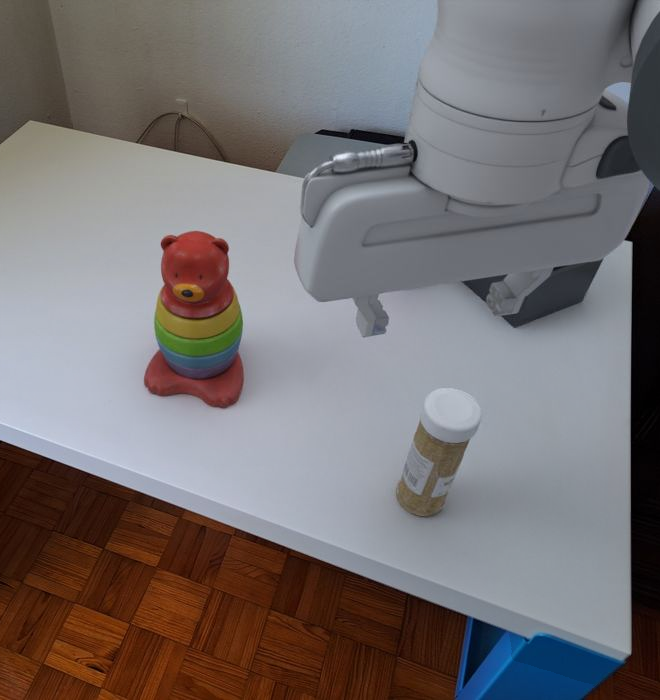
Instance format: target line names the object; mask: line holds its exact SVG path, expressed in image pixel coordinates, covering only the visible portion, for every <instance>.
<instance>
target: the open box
mask: <svg viewBox="0 0 660 700" xmlns="http://www.w3.org/2000/svg"><path fill="white" fill-rule="evenodd" d="M604 260H605V257H604V258H603V259H601V260H598V261H592V262H585V263H578V264H572V265H565V266H559V267H554V268H553V270H552V273H551V275H550V276H549V277H548V278H547V279H546V280H545V281H544V282H543V283H541V284H540V285H539V286H538V287H537V288H536V289H534V290H533V291H532V292H531V293H530V294H529V295H527V296H525V297H524V300H523V302H522V305H521V307H520V309H519V312H518V313H515V314H509V315H502V316H501V317H502V318H503V319H504V320H505V321H506V322H508V323H509V325H511V326H512V327H513V328H517V327H520V326H522V325H525V324H528V323H531V322H533V321H535V320H538V319H541V318H543V317H546V316H549V315H551V314H553V313H556V312H559V311H561V310H564V309H566V308H569V307H571V306H574V305H577V304H579V303H581V302H583V301H584V299H585V297H586V294H587V292H588V291H589V288H590V287H591V286H592V283H593V281H594V279H595V277H596V275H597V273H598V272H599V269H600V267H601V265H602V263H603V262H604ZM507 275H508V274H506V275H500V276H493V277H486V278H480V279H473V280H467V281H461V282H462V283H463V284H464V285H466V287H468V288H469V289H470V290H471V291H472V292H473V293H475V295H477V296H478V297H479V298H480V299H481V300H482V301H483V302H485V303H486V298H487V295H488V294H489V293H490V291H489V289H490V287H491V284H492V283H495V282H500V281H503V280H504V279H505V278H506V276H507Z"/></svg>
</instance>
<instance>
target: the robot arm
mask: <svg viewBox="0 0 660 700" xmlns="http://www.w3.org/2000/svg"><path fill="white" fill-rule="evenodd" d="M436 3H437V14H436V23H435V28H434V31H433V35H432V36H431V39H430V41H429V43H428V45H427V47H426V49H425V51H424V53H423V55H422V57H421V60H420V63H419V66H418V72H417V77H416V82H415V86H414V92H413V97H412V101H411V107H410V111H409V116H408V121H407V125H406V126H407V127H406V131H405V135H404V141H403V142H400V143H393V144H384V145H379V146H376V147H373V148H368V149H363V150H362V149H360V150H356V149H346V150H341V151H337V152H334V153H331V155H330V156H329V159H328V160H326V161H324V162H322V163H319V164H318V165H316V166H315V167H314V168H313V169H312V170H311V171H309V172H308V173H307V174H306V175H305V176H304V178H303V180H302V185H301V195H300V206H299V209H300V210H299V211H300V215H301V219H300V224H299V228H298V232H297V236H296V242H295V248H294V253H293V254H294V255H293V263H294V268H295V272H296V274H297V277H298V279H299V281H300V284H301V285H302V287H303V289H304V291H306V293H307V294H308V295H309V296H310V297H311V298H312V299H314V300H315V301H316V302H318V303H329V302H335V301H342V300H347V299H352V300H353V302H354V305H355V306H356V308H357V310H356V315H355V323H356V326H357V329H358V331H359V332H360V335H361V336H362V337H363V338H369V337H374V336H380V335H385V334H386V333H387V326H388V325H389V320H390V317H389V315H388V313H387V311H386V310H384V309H383V308H384V306H383V304H382V302H381V300H379V296H380V295H381V294H387V293H388V294H389V293H394V292H400V291H407V290H414V289H420V288H427V287H433V286H439V285H447V284H455V283H461V282H462V281H467V280H473V279H480V278H486V277H493V276H500V275H506V274H508V275H507V276H506V278H505V279H504V280H503V281H500V282H495V283H492V284H491V287H490V289H489V291H490V293H489V294H488V295H487V298H486V302H485V303H486V306H487V307H488V309H490V310H492V311H491V312H492V315H494V317H502V315H509V314H515V313H518V312H519V309H520V307H521V305H522V302H523V300H524V297H525V296H527V295H529V294H530V293H531V292H532V291H533V290H534V289H536V288H537V287H538V286H539V285H540V284H541V283H543V282H544V281H545V280H546V279H547V278H548V277H549V276H550V275H551V273H552V270H553V268H554V267H559V266H565V265H572V264H578V263H585V262H592V261H598V260H601V259H603V258H604V259H605V258H606V257H608V255H610V254H611V253H613V252H614V251H615V250H617V249H618V248H619V247H621V245H622V244H623V242H624V241H625V240H626V238H627V236H628V235H629V232H630V231H631V229H632V226H633V225H634V223H635V221H636V219H637V217H638V215H639V213H640V211H641V208H642V207H643V204H644V202H645V200H646V197H647V195H648V191H649V188H650V184H652V185H653V186H654V187H655V188H656V189H657V190H658V191H659V192H660V0H436ZM619 83H628V84H630V89H629V97H628V102H627V101H625V100H624V99H623V98H621V97H619V96H618V95H616V94H615V93H613V92H612V91H609V90H608V89H607V88H608V87H610V86H613V85H615V84H619ZM604 259H603V260H604Z"/></svg>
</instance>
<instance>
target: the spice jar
mask: <svg viewBox="0 0 660 700" xmlns="http://www.w3.org/2000/svg"><path fill="white" fill-rule="evenodd" d="M482 419H483V412H482V408H481V405H480V404H479V402H478V401H477V400H476V398H475V397H474V396H472V395H471V394H469V393H467V392H466V391H464V390H461V389H459V388H455V387H441V388H440V387H439V388H435V389H434V390H432V391H430V392H429V393H428V394H427V395H426V397H425V398H424V401H423V404H422V406H421V409H420V413H419V422H418V425H417V428H416V431H415V433H414V435H413V437H412V441H411V444H410V447H409V450H408V453H407V455H406V459H405V462H404V465H403V469H402V475H401V478H400V480H399V482H397V485H396V489H395V490H396V491H395V493H396V498H397V500H398V502H399V504H400V505H401V507H402V508H404V509H405V510H406V511H407V512H409V513H411V514H413V515H415V516H418V517H430V516H434V515H436V514H438V513H440V511H442V509H443V508H444V507H445V504H446V500H447V499H446V498H447V496H448V494H449V491H450V490H451V488H452V486H453V483H454V481H455V478H456V475H457V473H458V471H459V468H460V466H461V464H462V461H463V459H464V455H465V452H466V450H467V449H468V445H469V444H470V440H471V439H472V438H473V437H474V436H475V435H476V434H477V431H478V430H479V428H480V427H479V426H480V424H481V421H482Z"/></svg>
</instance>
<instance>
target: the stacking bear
mask: <svg viewBox="0 0 660 700" xmlns="http://www.w3.org/2000/svg"><path fill="white" fill-rule="evenodd" d="M160 247H161V250H162V251H163V252H162V257H161V261H160V273H161V279H162V282H163V286H162V287H161V289H159V293H158V296H157V300H156V305H155V311H154V322H153V325H154V327H153V328H154V334H155V335H154V336H155V339H156V342H157V345H158V348H159V349H158V350H157V351H156V352H155V353H154V354H153V356H152V358H151V359H150V361H149V363H148V365H147V366H146V370H145V372H144V376H143V384H144V386H145V387H146V388H147V391H149V393H152V394H155V395H158V396H164V397H165V396H170V395H175V394H187V395H192V396H195V397H198V398H200V400H202V401H203V402H205V403H206V404H207V405H209V406H212V407H219V408H222V409H223V408H227V407H228V406H230V405H234V404H235V403H237V401H238V400H239V398H240V396H241V393H242V391H243V386H244V380H245V379H244V378H245V377H244V376H245V375H244V366H243V365H244V364H243V361H242V358H241V355H240V353H239V349H240V345H241V341H242V337H243V328H244V319H243V318H244V317H243V311H242V309H241V304H240V301H239V298H238V295H237V292H236V290H235V288H234V286H233V285H232V283H231V282H230V280H229V279H228V276H229V271H230V258H229V254H228V253H229V250H230V247H229V244H228V242H227V241H226V240H225V239H224V238H221V237H215V236H213V235H212V234H210V233H208V232H205V231H201V230H191V231H186V232H183V233H180V234H179V235H173V234H169V235H165V236H164V237H163V238H162V239H161V241H160Z"/></svg>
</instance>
